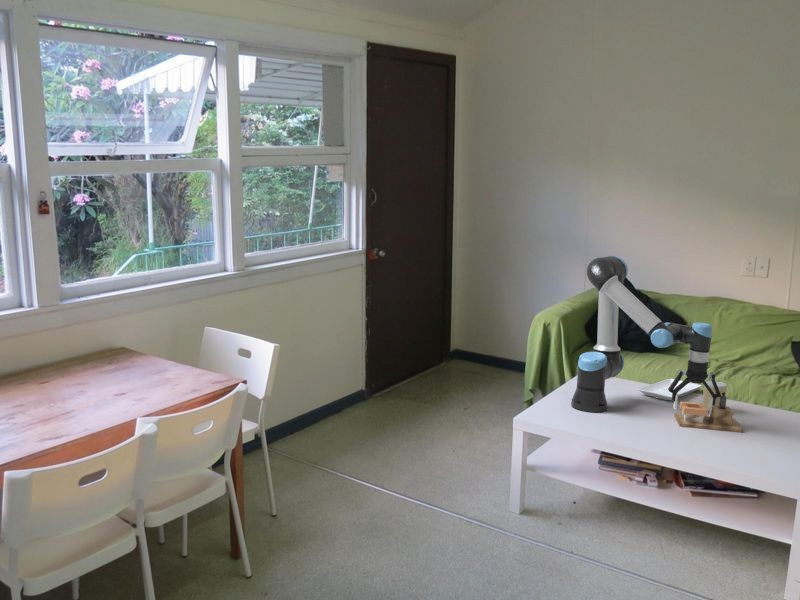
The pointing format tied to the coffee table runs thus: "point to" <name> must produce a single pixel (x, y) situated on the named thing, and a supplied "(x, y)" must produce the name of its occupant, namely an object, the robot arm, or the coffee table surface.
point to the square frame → (693, 408)
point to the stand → (711, 419)
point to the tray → (658, 392)
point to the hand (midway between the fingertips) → (692, 410)
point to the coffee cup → (707, 394)
